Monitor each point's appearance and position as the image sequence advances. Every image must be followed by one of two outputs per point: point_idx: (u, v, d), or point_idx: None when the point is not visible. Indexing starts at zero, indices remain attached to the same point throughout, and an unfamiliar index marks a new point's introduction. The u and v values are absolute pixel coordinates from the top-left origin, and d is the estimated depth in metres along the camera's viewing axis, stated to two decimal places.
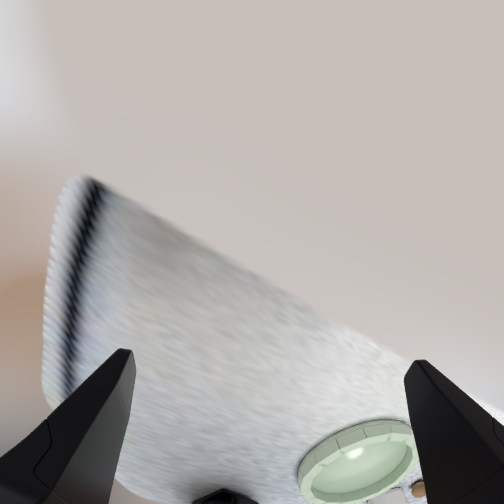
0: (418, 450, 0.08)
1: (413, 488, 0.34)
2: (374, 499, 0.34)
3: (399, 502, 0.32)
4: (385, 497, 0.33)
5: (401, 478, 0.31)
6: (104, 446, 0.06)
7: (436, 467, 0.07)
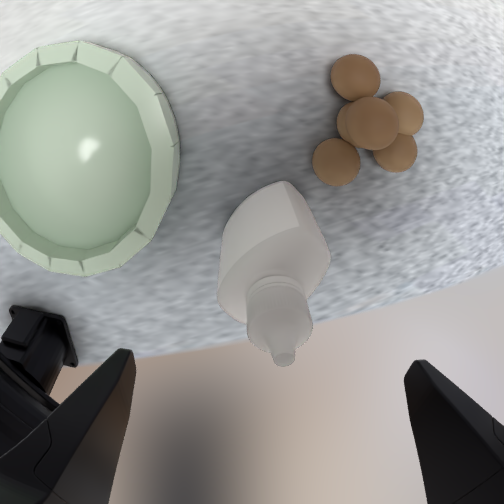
0: (418, 450, 0.08)
1: None
2: (224, 229, 0.20)
3: (260, 207, 0.17)
4: (237, 213, 0.19)
5: (159, 132, 0.16)
6: (104, 446, 0.06)
7: (436, 467, 0.07)
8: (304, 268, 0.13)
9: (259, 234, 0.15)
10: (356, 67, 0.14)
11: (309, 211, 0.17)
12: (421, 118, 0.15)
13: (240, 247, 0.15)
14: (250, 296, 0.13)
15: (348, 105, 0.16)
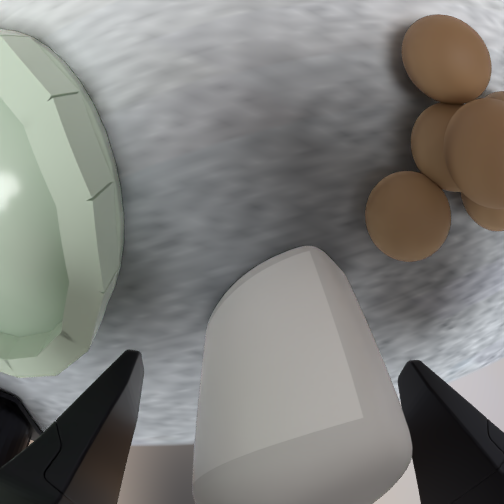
0: (412, 451, 0.08)
1: None
2: (208, 328, 0.12)
3: (271, 317, 0.09)
4: (228, 308, 0.11)
5: (64, 173, 0.07)
6: (113, 448, 0.06)
7: (430, 469, 0.07)
8: (364, 498, 0.05)
9: (269, 414, 0.06)
10: (460, 37, 0.05)
11: (363, 321, 0.09)
12: None
13: (230, 426, 0.07)
14: None
15: (438, 110, 0.07)
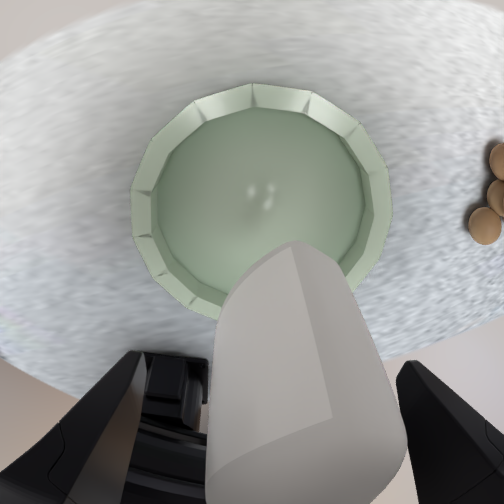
0: (410, 452, 0.08)
1: (469, 228, 0.20)
2: (214, 339, 0.12)
3: (254, 322, 0.09)
4: (224, 317, 0.11)
5: (384, 202, 0.17)
6: (116, 449, 0.06)
7: (427, 469, 0.07)
8: (351, 498, 0.04)
9: (250, 420, 0.06)
10: None
11: (350, 309, 0.08)
12: None
13: (223, 433, 0.07)
14: None
15: (500, 184, 0.17)
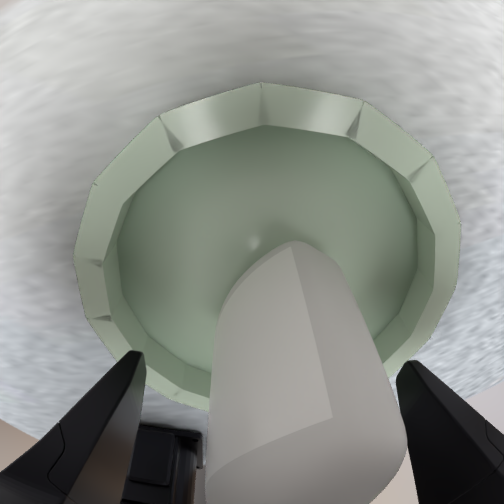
0: (410, 452, 0.08)
1: None
2: (214, 339, 0.12)
3: (254, 322, 0.09)
4: (224, 317, 0.11)
5: (448, 270, 0.11)
6: (116, 449, 0.06)
7: (428, 469, 0.07)
8: (351, 498, 0.04)
9: (250, 419, 0.06)
10: None
11: (350, 309, 0.08)
12: None
13: (223, 433, 0.07)
14: None
15: None
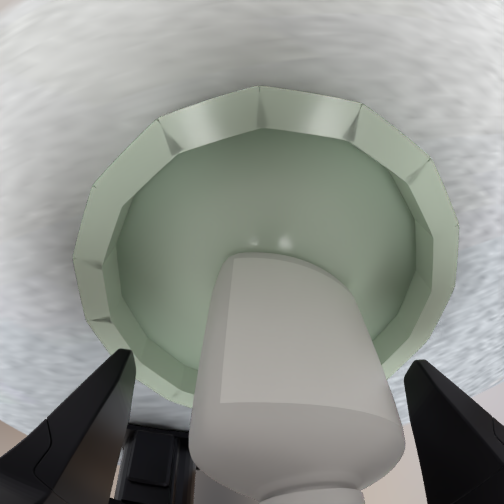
0: (418, 450, 0.08)
1: None
2: (245, 260, 0.11)
3: (342, 317, 0.10)
4: (290, 271, 0.11)
5: (446, 272, 0.11)
6: (104, 446, 0.06)
7: (436, 467, 0.07)
8: (366, 486, 0.06)
9: (358, 388, 0.07)
10: None
11: None
12: None
13: (318, 374, 0.07)
14: None
15: None
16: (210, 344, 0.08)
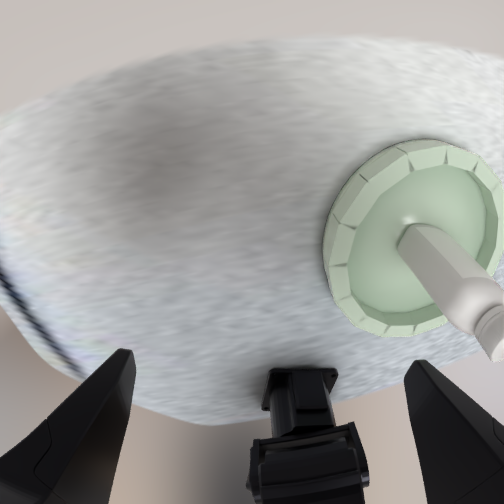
0: (418, 450, 0.08)
1: None
2: (422, 228, 0.20)
3: (469, 254, 0.18)
4: (442, 233, 0.19)
5: (502, 237, 0.19)
6: (104, 446, 0.06)
7: (436, 467, 0.07)
8: None
9: (491, 277, 0.15)
10: None
11: None
12: None
13: (480, 270, 0.15)
14: None
15: None
16: (438, 262, 0.16)
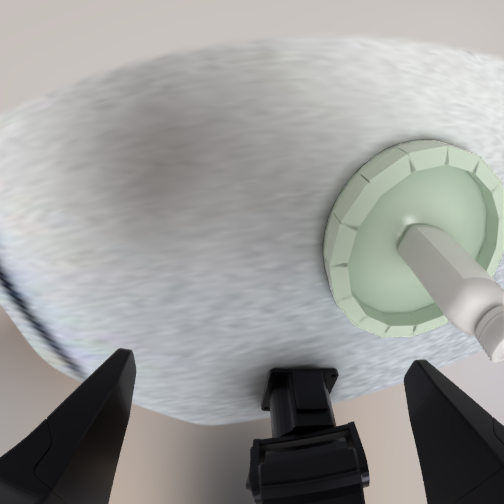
0: (418, 450, 0.08)
1: None
2: (422, 228, 0.20)
3: (469, 254, 0.18)
4: (442, 234, 0.19)
5: (503, 237, 0.19)
6: (104, 446, 0.06)
7: (436, 467, 0.07)
8: None
9: (491, 277, 0.15)
10: None
11: None
12: None
13: (481, 270, 0.15)
14: None
15: None
16: (438, 263, 0.16)
